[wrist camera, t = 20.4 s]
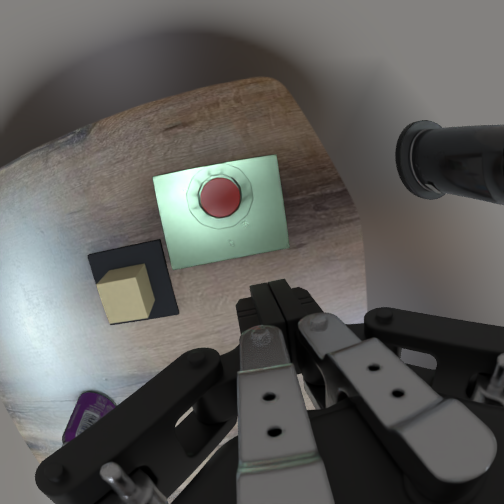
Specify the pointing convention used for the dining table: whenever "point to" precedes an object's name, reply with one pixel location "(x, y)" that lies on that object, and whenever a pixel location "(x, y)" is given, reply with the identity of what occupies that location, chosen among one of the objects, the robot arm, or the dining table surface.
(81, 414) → the beverage can
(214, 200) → the switch
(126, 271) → the block
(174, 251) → the switch base
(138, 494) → the robot arm
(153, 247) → the mat
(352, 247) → the dining table surface
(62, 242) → the dining table surface
